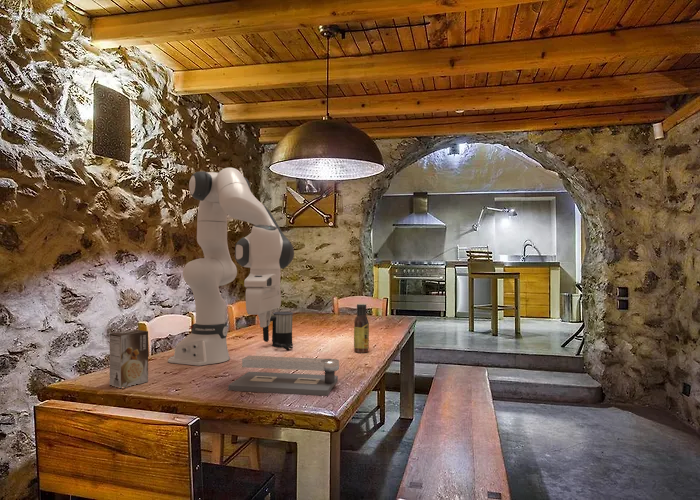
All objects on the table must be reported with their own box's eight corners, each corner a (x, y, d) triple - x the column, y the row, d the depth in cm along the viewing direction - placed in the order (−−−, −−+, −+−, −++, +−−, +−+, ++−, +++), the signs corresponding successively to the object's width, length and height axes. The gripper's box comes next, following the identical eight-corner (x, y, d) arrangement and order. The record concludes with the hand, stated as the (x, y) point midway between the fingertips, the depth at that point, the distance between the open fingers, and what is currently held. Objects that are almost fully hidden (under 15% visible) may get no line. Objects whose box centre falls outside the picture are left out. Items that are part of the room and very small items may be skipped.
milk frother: (283, 342, 203) (283, 310, 204) (307, 347, 193) (307, 313, 193) (259, 347, 192) (259, 313, 193) (283, 352, 182) (283, 316, 183)
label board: (228, 390, 130) (228, 373, 130) (248, 376, 146) (248, 360, 146) (329, 395, 126) (329, 378, 126) (339, 380, 141) (339, 364, 141)
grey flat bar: (241, 367, 135) (241, 359, 135) (248, 363, 141) (248, 355, 141) (337, 371, 131) (337, 363, 131) (340, 367, 136) (340, 359, 136)
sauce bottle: (367, 353, 181) (367, 305, 181) (352, 353, 182) (352, 304, 182) (369, 350, 187) (370, 303, 188) (355, 349, 188) (355, 303, 189)
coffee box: (136, 379, 142) (137, 329, 142) (148, 382, 138) (149, 331, 139) (108, 386, 134) (109, 333, 134) (120, 389, 131) (121, 335, 131)
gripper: (267, 277, 140) (266, 321, 140) (241, 281, 120) (241, 331, 120) (286, 278, 139) (285, 321, 139) (263, 281, 119) (263, 332, 119)
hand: (264, 326), depth 129 cm, fingers closed
